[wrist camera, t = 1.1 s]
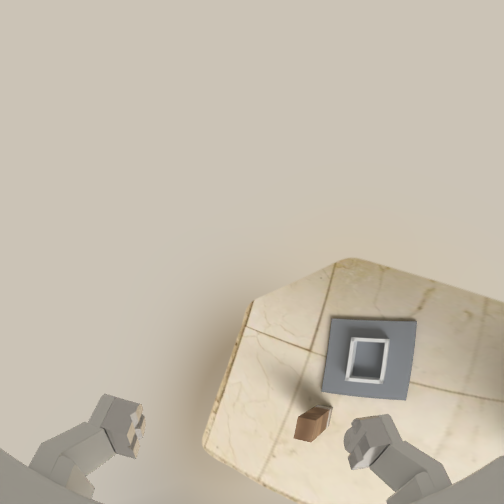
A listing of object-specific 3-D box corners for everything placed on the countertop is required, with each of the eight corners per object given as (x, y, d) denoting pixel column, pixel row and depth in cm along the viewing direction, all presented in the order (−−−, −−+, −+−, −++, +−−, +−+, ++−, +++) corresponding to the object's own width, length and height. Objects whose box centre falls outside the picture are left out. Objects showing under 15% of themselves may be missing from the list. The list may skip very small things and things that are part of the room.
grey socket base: (416, 321, 41) (417, 320, 37) (405, 398, 37) (405, 403, 34) (333, 319, 49) (327, 317, 46) (322, 390, 45) (316, 394, 42)
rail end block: (332, 407, 43) (315, 420, 35) (328, 425, 42) (310, 442, 34) (317, 404, 45) (298, 417, 37) (314, 423, 44) (293, 438, 36)
